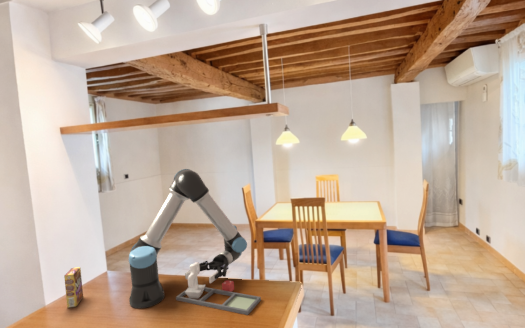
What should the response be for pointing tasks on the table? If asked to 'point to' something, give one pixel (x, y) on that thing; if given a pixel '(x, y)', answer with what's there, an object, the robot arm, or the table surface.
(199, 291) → the figurine
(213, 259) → the robot arm
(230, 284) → the red die
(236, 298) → the frame
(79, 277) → the candy box
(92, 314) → the table surface
